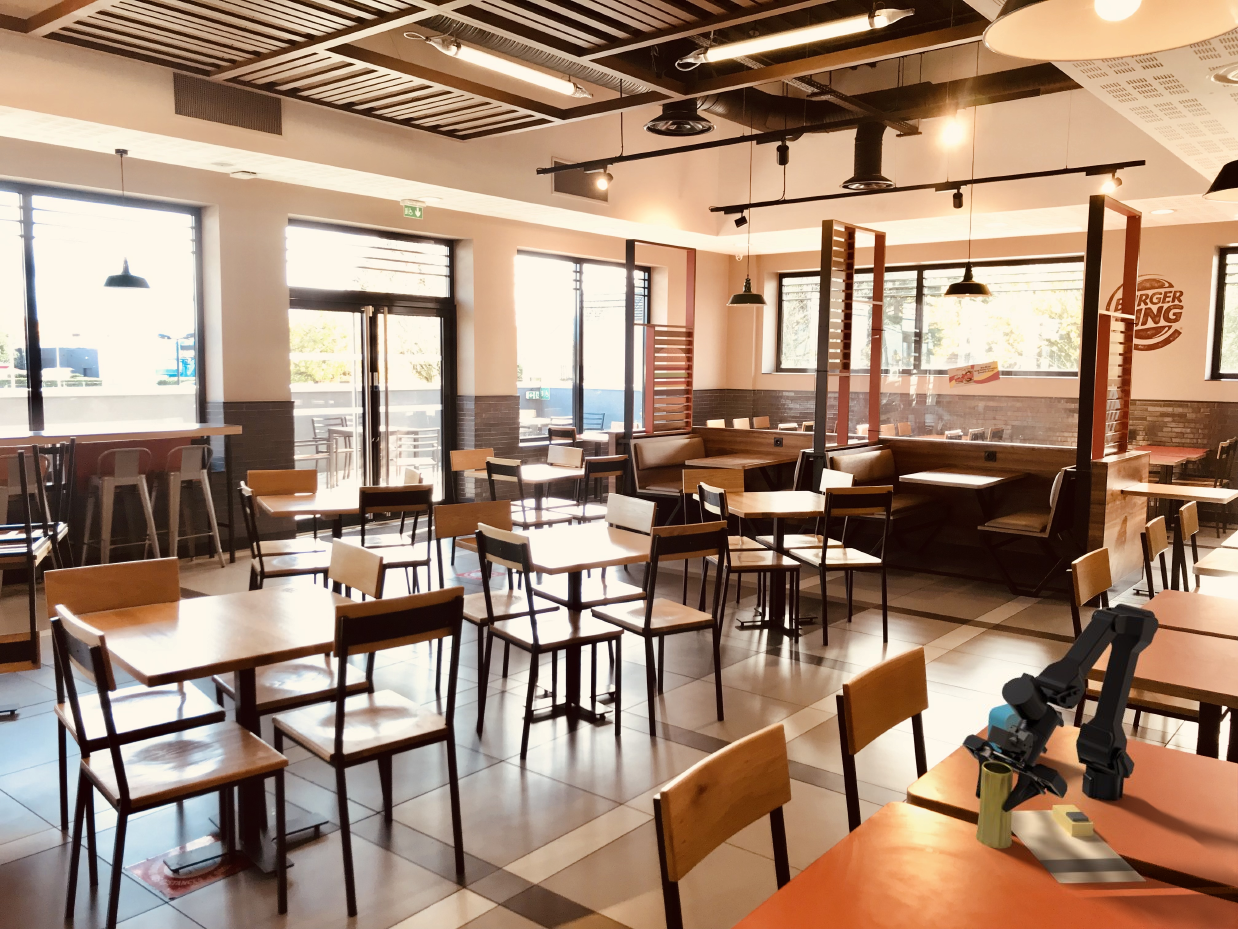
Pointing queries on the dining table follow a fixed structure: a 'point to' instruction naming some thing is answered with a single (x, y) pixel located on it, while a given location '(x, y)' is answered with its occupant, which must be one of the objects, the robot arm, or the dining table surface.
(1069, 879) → the subfloor panel
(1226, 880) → the dining table surface
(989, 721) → the blue rounded block
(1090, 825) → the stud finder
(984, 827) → the vase
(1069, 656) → the robot arm
